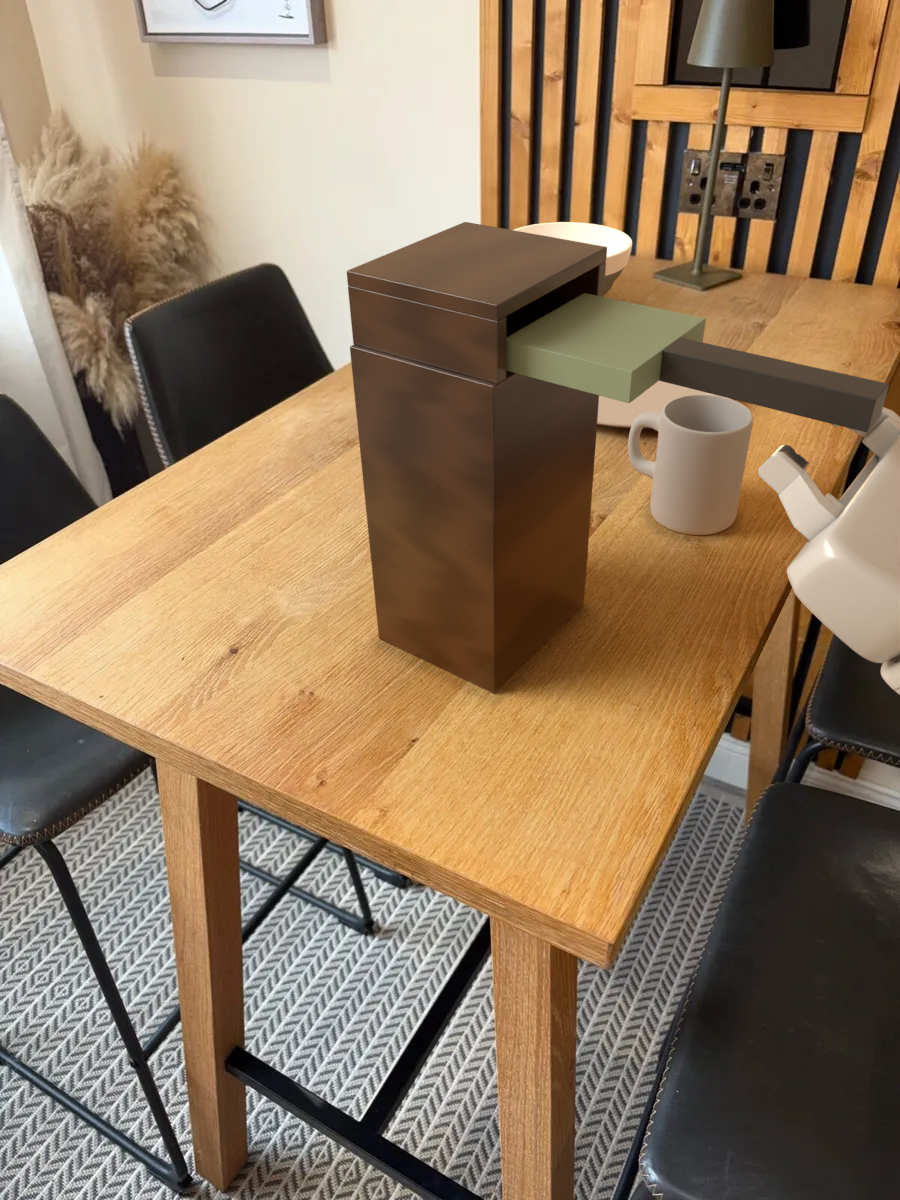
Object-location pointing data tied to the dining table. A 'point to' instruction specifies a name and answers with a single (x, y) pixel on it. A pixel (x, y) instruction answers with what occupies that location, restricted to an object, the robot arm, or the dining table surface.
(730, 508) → the mug
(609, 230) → the bowl
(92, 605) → the dining table surface
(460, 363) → the stand
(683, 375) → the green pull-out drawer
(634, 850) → the dining table surface
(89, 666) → the dining table surface
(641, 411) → the plate
